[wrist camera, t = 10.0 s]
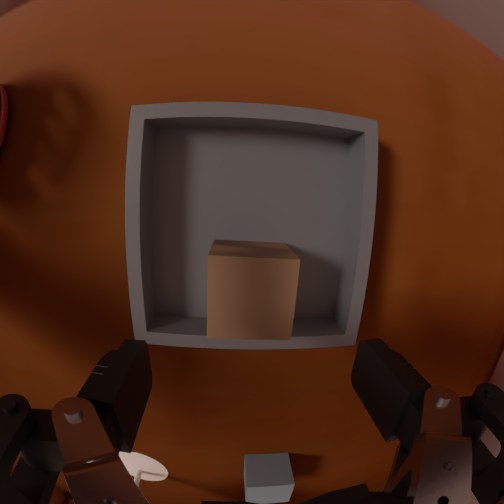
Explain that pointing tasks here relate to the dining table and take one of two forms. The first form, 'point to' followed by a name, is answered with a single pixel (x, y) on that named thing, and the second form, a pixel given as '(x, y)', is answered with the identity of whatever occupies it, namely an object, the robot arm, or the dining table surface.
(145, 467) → the wineglass
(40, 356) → the dining table surface
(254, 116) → the tray
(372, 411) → the robot arm
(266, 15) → the dining table surface
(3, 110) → the plant pot
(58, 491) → the cup with straw
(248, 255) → the walnut block
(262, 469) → the slate block
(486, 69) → the dining table surface
